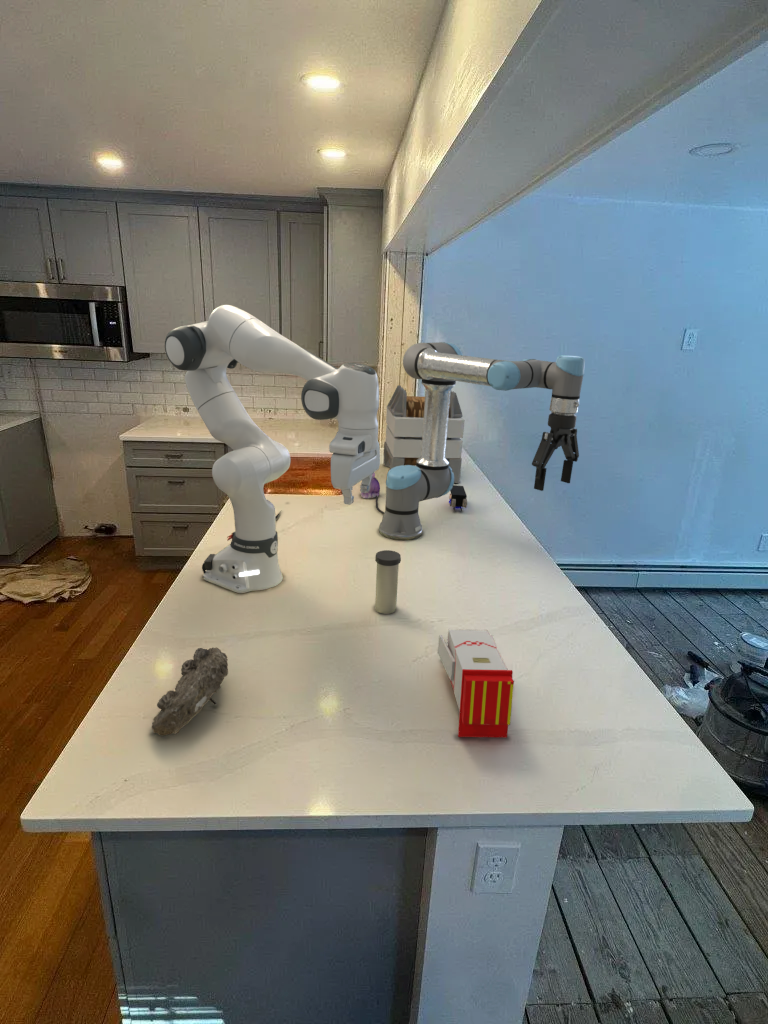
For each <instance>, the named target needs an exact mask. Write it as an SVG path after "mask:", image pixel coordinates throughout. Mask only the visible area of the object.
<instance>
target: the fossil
mask: <svg viewBox="0 0 768 1024" xmlns="http://www.w3.org/2000/svg"><path fill="white" fill-rule="evenodd" d="M228 659H229V658H228V655H227V654H226V653H225V652H222V650H221V649H220V648H219V647H217V646H215V647H213V646H212V647H209V648H204V647H198V648H196V649H195V651H194V653H193V656H192V658H191V659H186V660H185V661H183V663H182V665H181V668H180V669H181V670H180V671H181V673H180V675H181V676H180V678H179V680H177V683H176V685H175V687H174V690H167V692H166V693H165V694H163V695H162V696H161V697H160V698H159V700H158V702H157V703H156V707H157V708H158V709H159V712H158V713H157V715H156V716H154V717H153V722H152V730H153V733H154V734H158V736H168V735H172V734H173V735H176V734H177V733H178V732H179V731H181V729H182V728H184V727H185V726H186V725H188V724H189V722H190V721H191V720H192V719H193V718H195V716H197V715H198V714H199V713H200V712H201V711H202V710H203V707H204V705H206V704H207V703H208V702H209V701H210V702H211V703H212V704H213V705H214V706H216V705H217V702H216V701H215V700H214V699H213V698H212V696H213V694H215V693H217V692H218V691H219V689H220V688H221V685H222V684H223V681H224V680H225V678H226V677H227V676H228V674H229V668H228V667H229V664H228Z"/></svg>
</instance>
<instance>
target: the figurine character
mask: <svg viewBox="0 0 768 1024" xmlns="http://www.w3.org/2000/svg"><path fill="white" fill-rule="evenodd" d="M467 495H468V494H467V493H466V490H465V487H464V485H456V484H455V485H454V484H453V487H452V489H451V490H450V491H449V496H448V499H449V500H448V504H449V506H450V507H451V508H452V510H453V512H456V510H458V509H459V510H460V512H463V509H464V508H465V509H466V508H467V506H468V499H467V497H468V496H467Z"/></svg>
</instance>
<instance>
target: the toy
mask: <svg viewBox="0 0 768 1024" xmlns="http://www.w3.org/2000/svg"><path fill="white" fill-rule="evenodd" d="M446 640H447V643H446V641H445V639H444V636H443V635H442V634H439V637H438V646H437V656H438V657H439V659H440V661H441V663H442V666H443V668H444V670H445V672H446V674H447V677H448V679H449V681H450V684H451V687H452V690H453V693H454V697H455V701H456V705H457V708H458V711H459V714H458V715H459V716H458V730H457V731H458V732H457V737H458V738H508V731H509V726H510V725H511V717H512V707H513V697H514V696H513V695H514V684H515V680H514V679H513V673H514V671H513V670H512V669H508V667H507V665H506V662H505V661H504V659H503V658H502V655H501V653H500V651H499V649H498V647H497V643H496V639H495V637H494V635H493V634H491V632H490V631H489V629H467V628H466V629H465V628H463V629H461V628H460V629H459V628H448V630H447V639H446Z"/></svg>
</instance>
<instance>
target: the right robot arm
mask: <svg viewBox="0 0 768 1024" xmlns="http://www.w3.org/2000/svg"><path fill="white" fill-rule="evenodd" d="M585 365H586V360H585V358H584V357H582V356H578V355H566V354H565V355H564V354H563V355H558V356H557V357H556V360H555V361H549V360H541V359H536V358H524V359H521V360H506V359H505V360H504V359H503V360H502V359H496V358H487V357H479V356H471V355H464V354H463V352H462V350H461V349H460V347H459V346H457V345H456V344H455V343H451V342H445V341H443V342H442V341H441V342H440V341H439V342H438V341H437V342H417V343H414V344H412V345H411V346H409V347H408V348H407V350H406V351H405V353H404V355H403V358H402V366H403V369H404V372H405V373H406V374H407V375H408V376H409V377H411V378H412V379H415V380H421V385H422V386H423V387H424V389H425V392H424V397H425V404H424V419H423V434H422V449H421V457H420V458H418V459H417V461H416V466H413V465H401V466H396V467H394V468H392V469H390V468H389V470H388V472H387V474H386V479H385V504H384V505H385V507H384V508H385V509H384V511H383V510H382V509H380V508H379V505H378V504H379V501H378V499H379V498H378V497H379V496H377V495H376V497H375V507H376V510H377V512H379V513H381V514H383V515H382V519H381V522H379V525H378V533H379V534H380V535H381V536H382V537H385V538H387V539H389V540H395V541H410V540H415V539H418V538H420V537H421V536H422V535H423V525H422V524H421V518H420V515H419V507H420V506H419V505H420V502H423V501H427V500H431V499H437V498H440V497H443V496H446V495H448V493H450V490H451V489H452V487H453V485H454V484H455V483H454V473H452V469H451V467H450V466H449V462H448V461H447V459H446V458H445V453H446V441H447V428H448V416H449V404H450V392H451V391H452V389H453V388H454V387H455V386H456V384H457V382H461V383H465V384H473V385H479V386H487V387H491V388H492V389H494V390H496V391H503V392H504V391H511V390H520V389H532V388H533V389H534V388H539V389H546V390H551V398H550V404H549V413H548V418H547V419H548V420H547V426H548V427H549V428H550V431H549V432H548V431H543V432H542V435H541V440H540V442H539V445H538V447H537V449H536V452H535V454H534V457H533V460H532V461H531V466H533V467H535V475H534V477H535V478H534V485H533V489H534V490H537V491H539V492H543V491H544V489H545V484H546V483H545V482H546V476H547V468H546V466H547V465H548V463H549V461H550V459H551V457H552V456H553V454H554V453H555V451H556V450H557V449H558V448H560V447H561V449H562V452H563V455H564V458H565V459H563V463H562V468H561V469H562V470H561V475H560V482H562V483H566V484H571V478H572V472H573V466H574V463H576V462H578V461H579V457H580V453H579V444H578V428H576V423H577V419H578V416H577V414H578V412H579V411H578V410H579V406H580V397H581V391H582V385H583V380H584V376H585Z"/></svg>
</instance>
